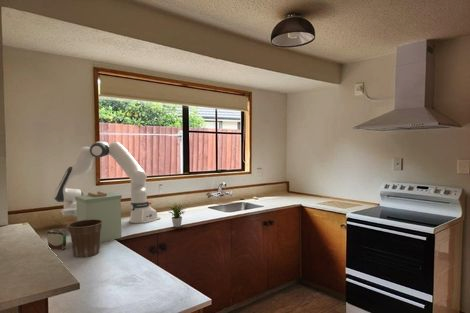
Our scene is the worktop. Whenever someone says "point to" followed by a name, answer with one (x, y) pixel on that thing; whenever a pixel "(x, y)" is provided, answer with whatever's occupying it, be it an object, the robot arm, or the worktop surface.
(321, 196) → the worktop surface
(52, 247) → the food container
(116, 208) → the toolbox
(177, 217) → the house plant
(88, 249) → the plant pot
